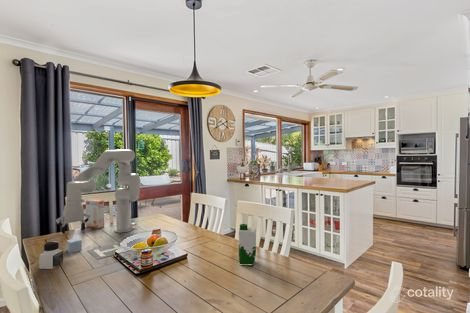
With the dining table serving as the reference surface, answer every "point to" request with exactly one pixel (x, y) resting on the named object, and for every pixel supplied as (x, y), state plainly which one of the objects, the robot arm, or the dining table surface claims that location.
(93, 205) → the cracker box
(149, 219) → the dining table surface
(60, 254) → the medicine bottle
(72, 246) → the blue cube
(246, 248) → the milk carton
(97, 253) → the letter card
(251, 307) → the dining table surface
